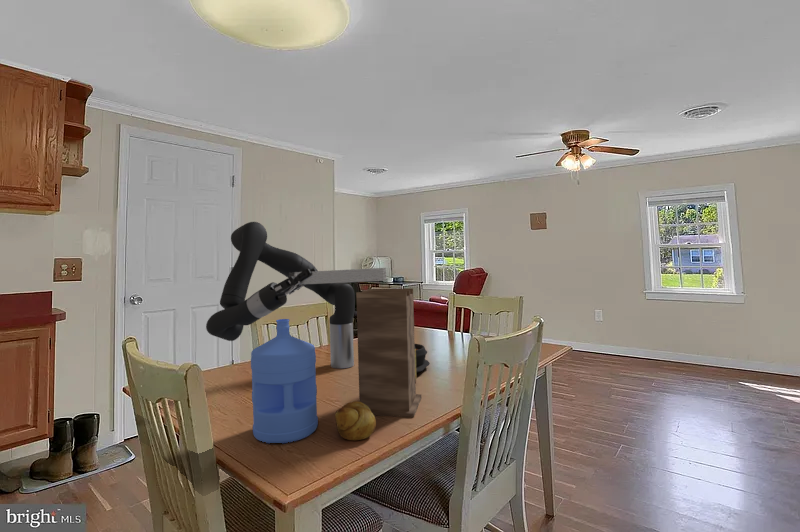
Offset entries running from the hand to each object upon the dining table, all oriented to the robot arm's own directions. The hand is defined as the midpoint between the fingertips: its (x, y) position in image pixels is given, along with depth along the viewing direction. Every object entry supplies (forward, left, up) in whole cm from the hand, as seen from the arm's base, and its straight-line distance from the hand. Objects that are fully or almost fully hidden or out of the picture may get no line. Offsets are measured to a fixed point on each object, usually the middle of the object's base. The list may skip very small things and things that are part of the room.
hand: (312, 271), depth 116 cm
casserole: (-42, +19, -40) cm, 61 cm away
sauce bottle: (-23, +23, -40) cm, 51 cm away
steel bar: (0, +8, -3) cm, 8 cm away
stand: (-3, +21, -39) cm, 45 cm away
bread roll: (+15, +17, -40) cm, 46 cm away
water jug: (+17, -1, -40) cm, 43 cm away
